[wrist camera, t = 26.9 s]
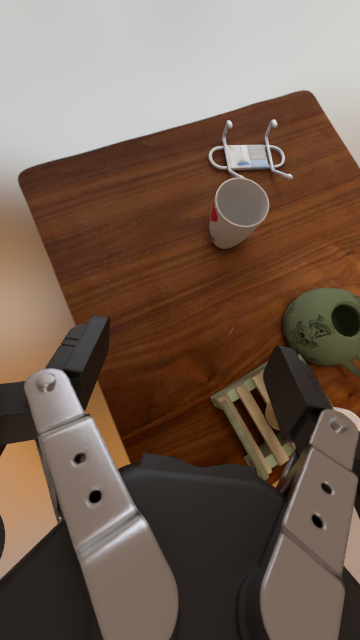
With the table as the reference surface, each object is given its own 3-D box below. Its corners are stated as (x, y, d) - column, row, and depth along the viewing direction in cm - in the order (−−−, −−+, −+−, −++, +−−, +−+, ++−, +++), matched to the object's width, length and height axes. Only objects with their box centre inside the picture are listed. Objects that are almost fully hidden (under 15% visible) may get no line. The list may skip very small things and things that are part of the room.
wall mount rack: (278, 139, 54) (293, 112, 49) (292, 198, 52) (310, 176, 46) (204, 141, 52) (211, 112, 47) (215, 202, 50) (224, 180, 44)
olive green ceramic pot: (264, 315, 46) (289, 302, 38) (320, 282, 49) (355, 263, 40) (314, 397, 44) (353, 402, 36) (370, 358, 47) (419, 355, 38)
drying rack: (248, 467, 41) (266, 484, 35) (208, 397, 42) (219, 401, 36) (318, 417, 44) (346, 425, 37) (279, 354, 45) (300, 350, 39)
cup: (211, 209, 49) (226, 169, 40) (251, 227, 49) (276, 191, 40) (195, 245, 47) (207, 212, 38) (236, 263, 48) (259, 235, 38)
